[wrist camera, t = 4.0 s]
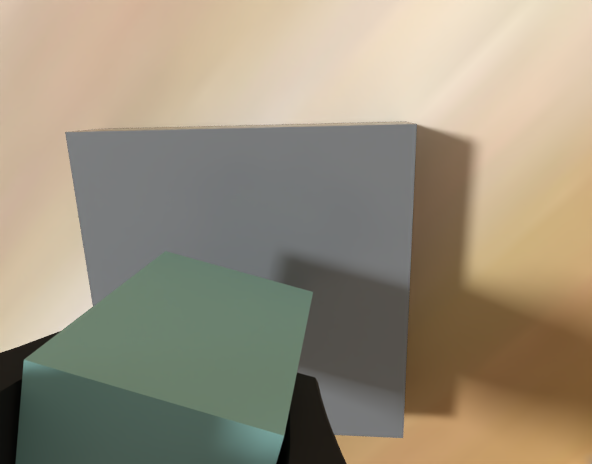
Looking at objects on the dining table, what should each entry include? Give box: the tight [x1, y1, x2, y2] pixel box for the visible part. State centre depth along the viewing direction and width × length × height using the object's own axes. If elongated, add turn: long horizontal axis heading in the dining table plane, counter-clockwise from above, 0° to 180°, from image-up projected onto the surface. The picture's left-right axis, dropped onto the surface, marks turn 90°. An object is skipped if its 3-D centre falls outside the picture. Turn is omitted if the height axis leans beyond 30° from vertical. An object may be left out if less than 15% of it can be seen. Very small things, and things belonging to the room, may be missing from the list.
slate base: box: [65, 122, 417, 438], centre depth 18 cm, size 12×12×2 cm
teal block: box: [15, 251, 313, 464], centre depth 11 cm, size 4×4×6 cm
